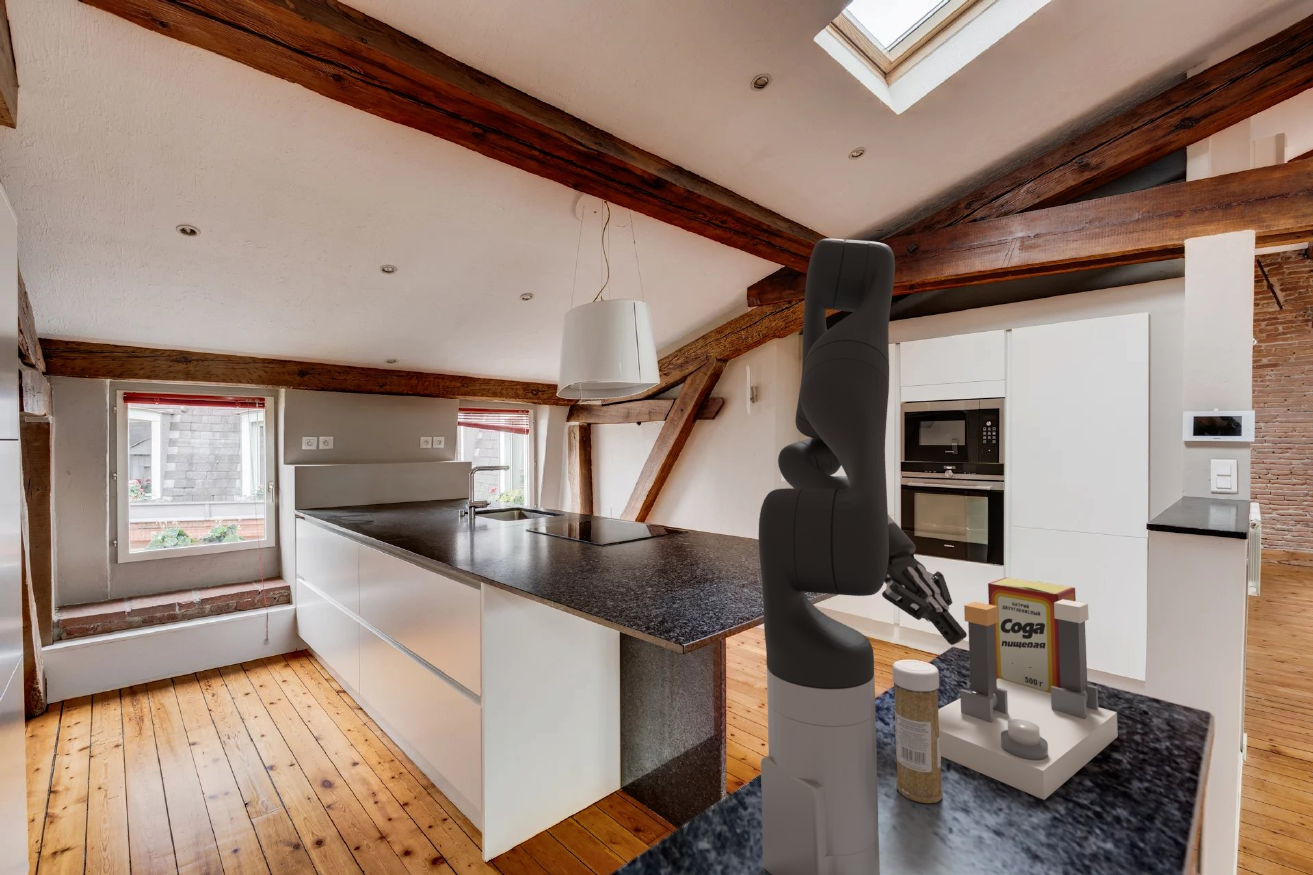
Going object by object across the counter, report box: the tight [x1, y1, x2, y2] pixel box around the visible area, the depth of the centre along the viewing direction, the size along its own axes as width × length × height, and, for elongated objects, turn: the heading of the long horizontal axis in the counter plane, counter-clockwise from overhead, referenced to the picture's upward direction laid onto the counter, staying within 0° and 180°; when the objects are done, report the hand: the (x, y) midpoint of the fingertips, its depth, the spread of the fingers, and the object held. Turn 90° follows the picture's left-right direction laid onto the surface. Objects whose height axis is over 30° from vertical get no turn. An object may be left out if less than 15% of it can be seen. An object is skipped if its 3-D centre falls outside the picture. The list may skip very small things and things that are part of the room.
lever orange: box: [963, 601, 998, 707], centre depth 73 cm, size 3×3×13 cm
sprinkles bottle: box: [891, 659, 944, 804], centre depth 61 cm, size 5×5×13 cm
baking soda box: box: [987, 577, 1077, 693], centre depth 87 cm, size 10×6×16 cm
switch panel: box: [938, 678, 1119, 801], centre depth 72 cm, size 22×14×6 cm, turn 125°
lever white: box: [1054, 599, 1090, 702], centre depth 74 cm, size 3×3×13 cm
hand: (959, 640), depth 75 cm, fingers closed
